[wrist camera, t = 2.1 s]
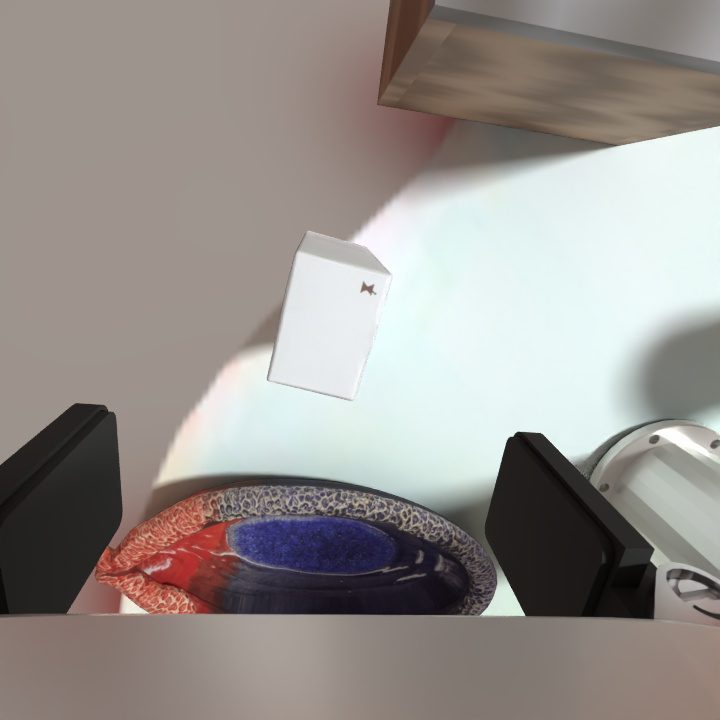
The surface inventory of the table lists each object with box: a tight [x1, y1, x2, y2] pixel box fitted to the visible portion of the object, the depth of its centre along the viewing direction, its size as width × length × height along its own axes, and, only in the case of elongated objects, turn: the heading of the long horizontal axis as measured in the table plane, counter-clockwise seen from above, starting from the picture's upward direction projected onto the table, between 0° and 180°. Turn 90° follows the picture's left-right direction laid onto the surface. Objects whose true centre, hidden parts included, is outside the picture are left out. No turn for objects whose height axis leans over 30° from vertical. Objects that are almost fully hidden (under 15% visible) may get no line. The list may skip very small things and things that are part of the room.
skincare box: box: [267, 231, 392, 401], centre depth 24 cm, size 6×4×12 cm
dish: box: [95, 479, 497, 616], centre depth 35 cm, size 16×31×5 cm, turn 77°
